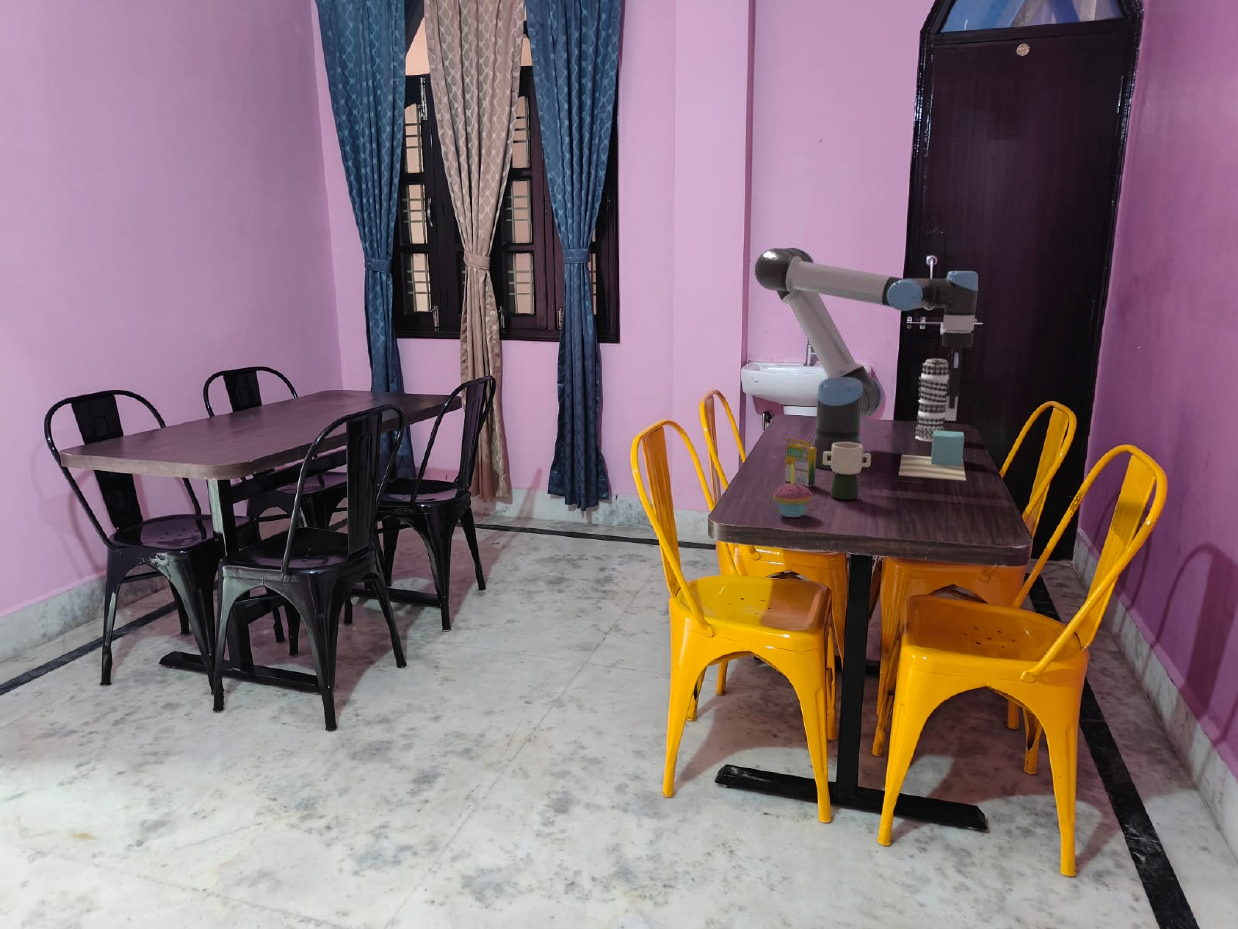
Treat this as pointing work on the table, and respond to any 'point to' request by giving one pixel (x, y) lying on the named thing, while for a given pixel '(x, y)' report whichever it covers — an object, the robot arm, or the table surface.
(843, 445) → the character mug
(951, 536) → the table surface
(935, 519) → the table surface
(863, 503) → the table surface
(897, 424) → the table surface
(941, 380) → the decorative candle
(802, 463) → the crayon box
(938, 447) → the teal cube
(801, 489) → the cupcake
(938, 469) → the base board
